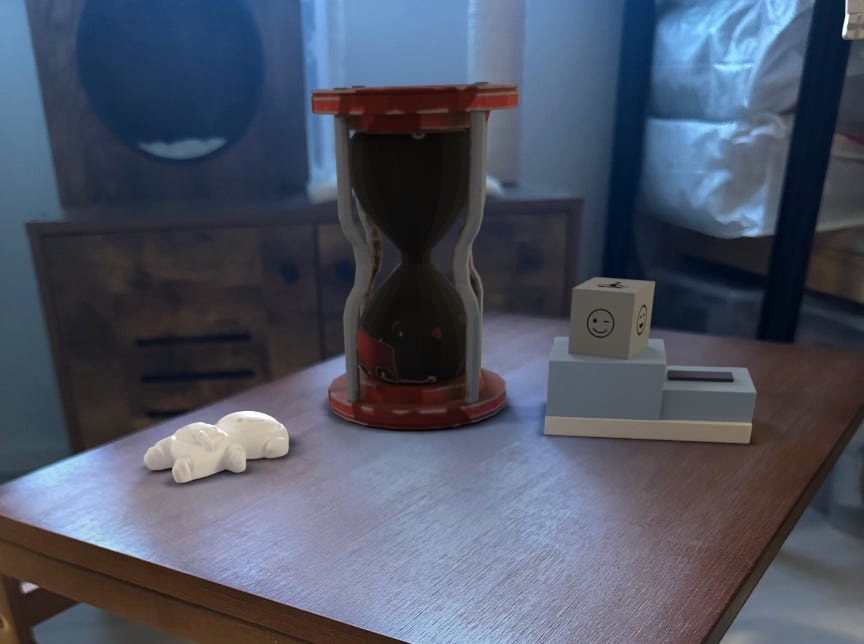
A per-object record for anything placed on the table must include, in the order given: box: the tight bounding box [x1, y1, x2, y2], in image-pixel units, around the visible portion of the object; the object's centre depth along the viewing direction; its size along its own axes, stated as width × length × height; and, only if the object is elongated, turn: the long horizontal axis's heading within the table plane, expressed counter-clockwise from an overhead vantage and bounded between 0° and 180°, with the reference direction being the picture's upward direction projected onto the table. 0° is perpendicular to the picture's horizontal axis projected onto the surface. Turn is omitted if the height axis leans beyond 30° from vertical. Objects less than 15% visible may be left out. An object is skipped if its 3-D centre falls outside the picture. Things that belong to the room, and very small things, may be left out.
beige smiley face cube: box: [568, 276, 656, 360], centre depth 76 cm, size 5×5×5 cm
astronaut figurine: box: [143, 410, 290, 484], centre depth 74 cm, size 9×12×3 cm
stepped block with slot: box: [543, 336, 758, 445], centre depth 78 cm, size 16×8×6 cm, turn 77°
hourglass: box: [310, 81, 519, 431], centre depth 79 cm, size 16×16×25 cm
